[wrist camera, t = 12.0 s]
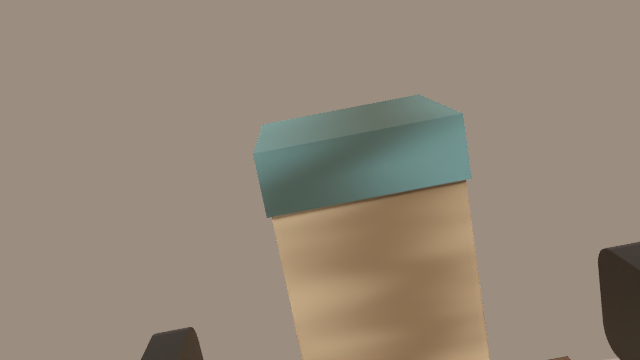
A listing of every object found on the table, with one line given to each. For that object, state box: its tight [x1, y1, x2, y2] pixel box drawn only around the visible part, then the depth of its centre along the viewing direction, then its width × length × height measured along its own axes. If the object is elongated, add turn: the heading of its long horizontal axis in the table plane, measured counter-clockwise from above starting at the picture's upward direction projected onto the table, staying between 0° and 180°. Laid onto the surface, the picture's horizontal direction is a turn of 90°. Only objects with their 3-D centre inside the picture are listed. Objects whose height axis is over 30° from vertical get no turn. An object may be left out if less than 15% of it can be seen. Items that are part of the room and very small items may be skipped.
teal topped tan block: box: [253, 95, 490, 360], centre depth 17 cm, size 5×5×11 cm
